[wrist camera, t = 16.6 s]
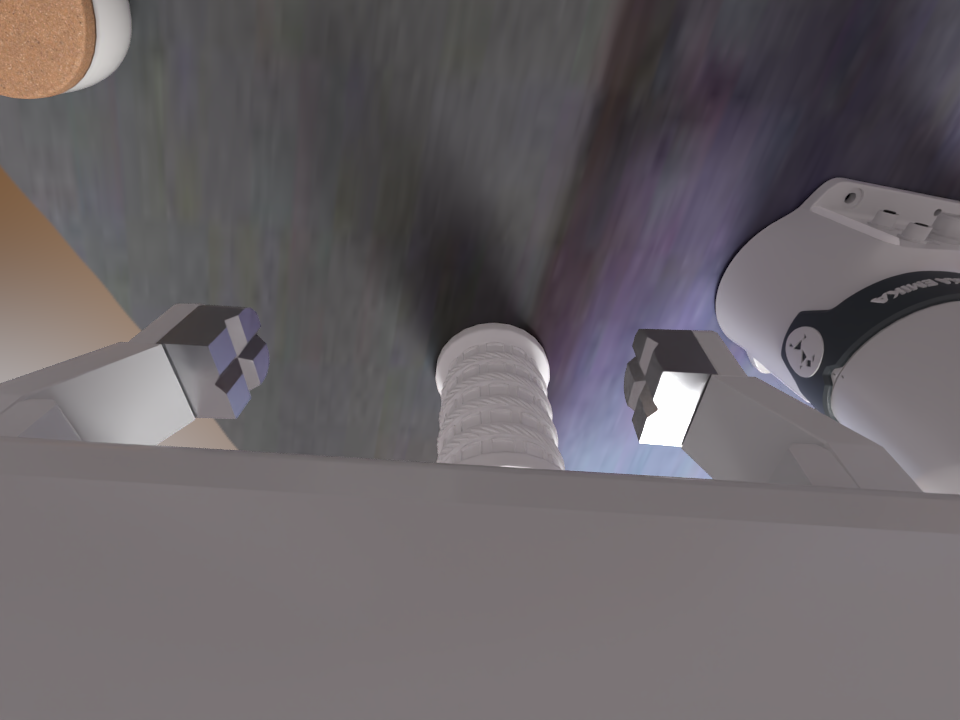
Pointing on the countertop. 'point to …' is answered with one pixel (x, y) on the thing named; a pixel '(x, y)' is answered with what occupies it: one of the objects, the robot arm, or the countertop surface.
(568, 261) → the countertop surface
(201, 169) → the countertop surface
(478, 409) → the decorative container
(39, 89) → the lidded jar
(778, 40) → the countertop surface
